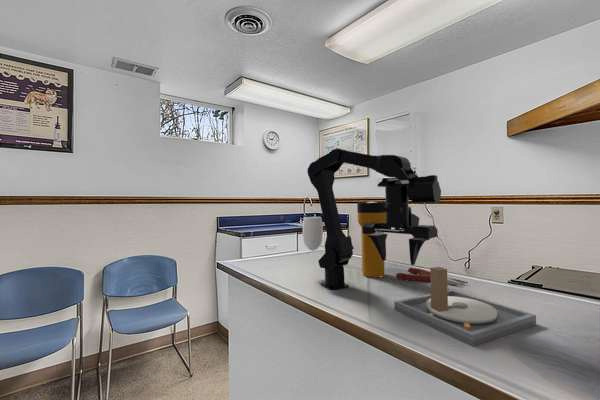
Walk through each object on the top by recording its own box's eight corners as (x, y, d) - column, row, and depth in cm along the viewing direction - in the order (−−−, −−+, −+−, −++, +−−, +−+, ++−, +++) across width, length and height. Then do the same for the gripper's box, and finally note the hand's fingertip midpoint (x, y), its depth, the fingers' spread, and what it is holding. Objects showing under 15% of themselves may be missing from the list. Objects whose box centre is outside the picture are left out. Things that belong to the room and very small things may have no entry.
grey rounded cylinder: (300, 274, 106) (298, 217, 106) (317, 272, 109) (316, 216, 109) (309, 279, 100) (307, 218, 100) (327, 276, 103) (326, 217, 103)
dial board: (394, 309, 72) (394, 301, 72) (451, 296, 80) (451, 289, 80) (473, 346, 53) (472, 335, 53) (536, 324, 62) (536, 315, 62)
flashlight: (355, 201, 109) (382, 201, 109) (356, 271, 109) (383, 271, 109) (360, 201, 99) (390, 201, 99) (361, 278, 99) (391, 278, 99)
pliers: (460, 292, 85) (460, 283, 85) (394, 280, 99) (394, 272, 99) (472, 284, 93) (471, 275, 93) (409, 273, 107) (409, 266, 107)
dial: (461, 297, 75) (460, 258, 75) (513, 318, 62) (513, 271, 62) (413, 303, 72) (412, 262, 72) (458, 327, 58) (457, 277, 58)
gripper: (445, 202, 77) (446, 262, 77) (382, 202, 90) (383, 254, 90) (427, 203, 69) (428, 270, 69) (360, 203, 83) (361, 259, 83)
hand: (397, 262), depth 78 cm, fingers open, 8 cm apart
